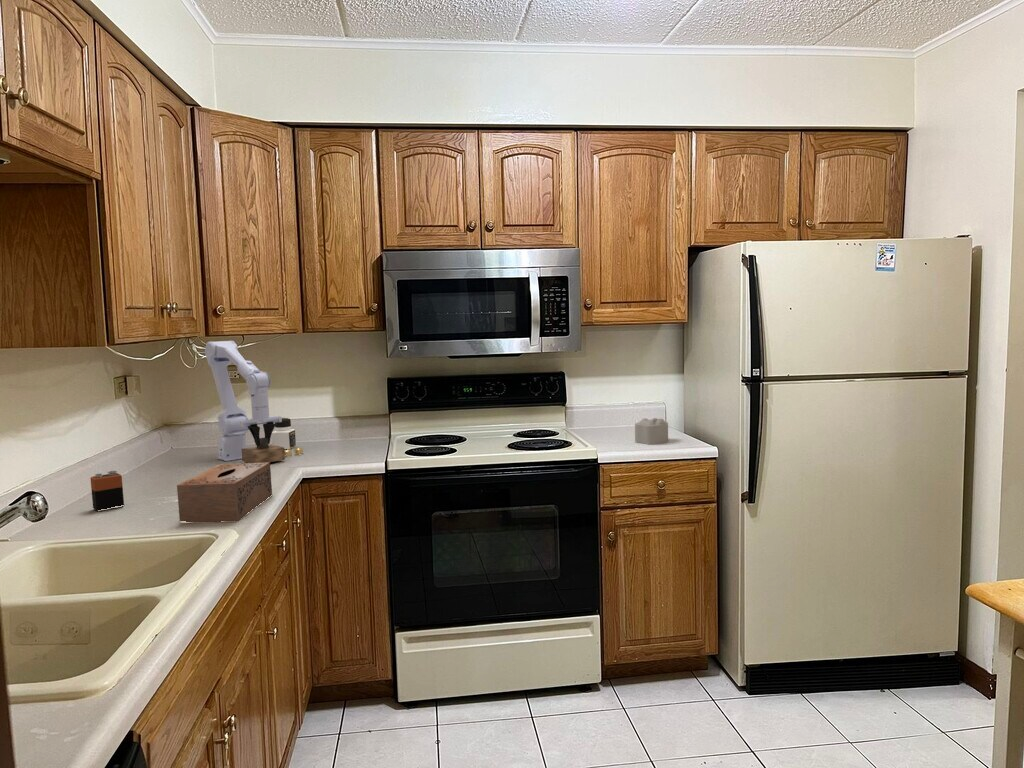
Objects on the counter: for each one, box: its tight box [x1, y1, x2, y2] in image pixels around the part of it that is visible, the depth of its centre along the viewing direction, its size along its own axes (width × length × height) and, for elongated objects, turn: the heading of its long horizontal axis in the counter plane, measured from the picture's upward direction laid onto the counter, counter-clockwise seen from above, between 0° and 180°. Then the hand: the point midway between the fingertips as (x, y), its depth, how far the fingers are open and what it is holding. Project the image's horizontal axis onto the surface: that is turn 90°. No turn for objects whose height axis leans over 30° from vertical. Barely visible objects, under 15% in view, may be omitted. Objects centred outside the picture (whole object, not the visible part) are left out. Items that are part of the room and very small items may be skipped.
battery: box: [89, 470, 125, 511], centre depth 191 cm, size 4×7×10 cm, turn 133°
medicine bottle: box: [271, 417, 297, 450], centre depth 278 cm, size 7×7×12 cm
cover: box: [241, 437, 286, 463], centre depth 250 cm, size 11×11×8 cm
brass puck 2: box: [293, 447, 304, 456], centre depth 263 cm, size 3×3×2 cm
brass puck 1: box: [284, 449, 293, 458], centre depth 260 cm, size 3×3×2 cm
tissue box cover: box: [176, 462, 273, 523], centre depth 186 cm, size 26×14×10 cm, turn 1°
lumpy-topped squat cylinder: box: [634, 417, 669, 446], centre depth 265 cm, size 10×13×9 cm
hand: (262, 444), depth 250 cm, fingers closed on cover, 3 cm apart
